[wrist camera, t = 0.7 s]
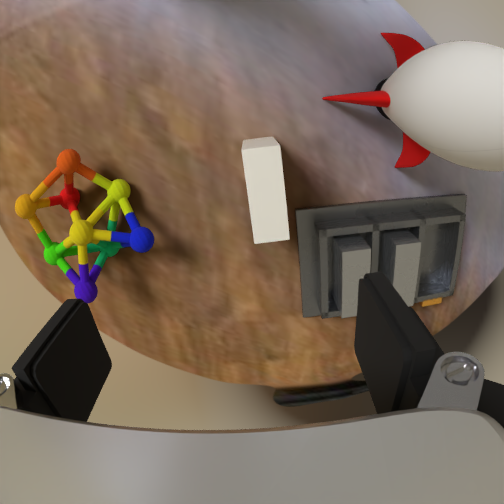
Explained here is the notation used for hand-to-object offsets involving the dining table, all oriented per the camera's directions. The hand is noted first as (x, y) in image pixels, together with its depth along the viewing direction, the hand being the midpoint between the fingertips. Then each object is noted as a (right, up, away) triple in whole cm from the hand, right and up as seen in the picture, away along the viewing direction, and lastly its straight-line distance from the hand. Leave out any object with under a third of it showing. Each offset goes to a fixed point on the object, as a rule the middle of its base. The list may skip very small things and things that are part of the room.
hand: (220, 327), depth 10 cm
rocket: (+16, +19, +19) cm, 31 cm away
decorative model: (-17, +7, +24) cm, 30 cm away
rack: (+17, +2, +27) cm, 32 cm away
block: (+2, +10, +23) cm, 25 cm away
